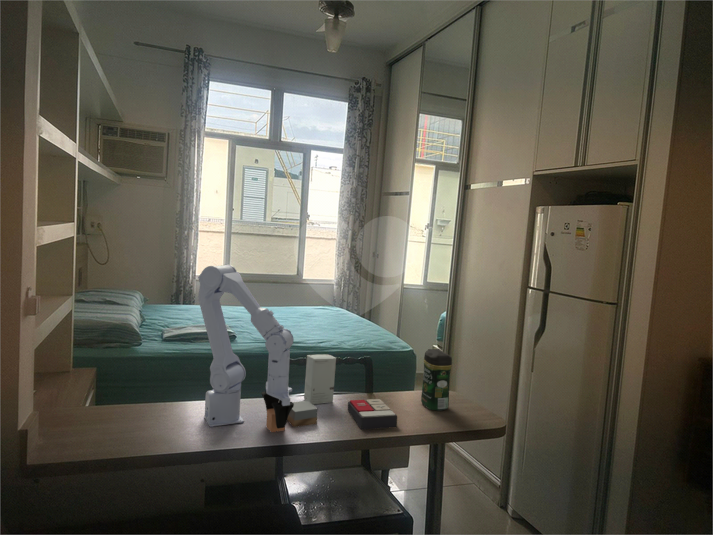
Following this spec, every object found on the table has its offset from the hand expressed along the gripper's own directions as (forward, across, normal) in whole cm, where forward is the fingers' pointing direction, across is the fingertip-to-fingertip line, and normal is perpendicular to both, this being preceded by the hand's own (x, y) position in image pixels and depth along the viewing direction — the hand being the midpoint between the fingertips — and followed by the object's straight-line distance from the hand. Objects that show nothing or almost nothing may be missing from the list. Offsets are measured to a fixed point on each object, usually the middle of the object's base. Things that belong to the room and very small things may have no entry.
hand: (276, 422), depth 131 cm
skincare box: (+2, +16, -20) cm, 25 cm away
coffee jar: (+2, -2, -54) cm, 54 cm away
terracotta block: (+2, 0, 0) cm, 2 cm away
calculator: (+2, -3, -29) cm, 29 cm away
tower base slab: (+2, +2, -8) cm, 9 cm away
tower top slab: (0, +3, -8) cm, 9 cm away
